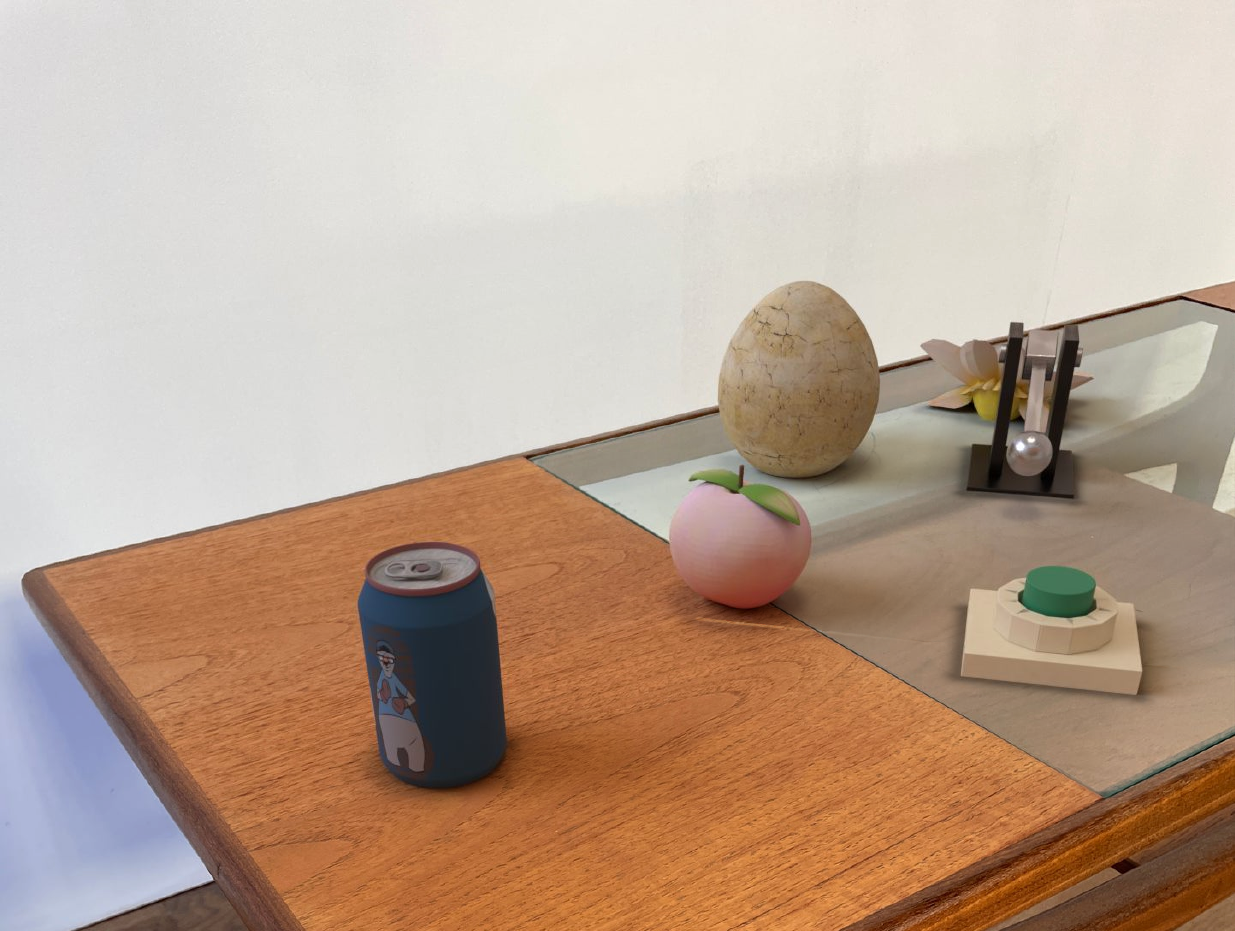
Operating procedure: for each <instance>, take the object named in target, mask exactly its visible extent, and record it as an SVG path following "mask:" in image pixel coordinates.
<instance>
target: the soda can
mask: <svg viewBox="0 0 1235 931" xmlns="http://www.w3.org/2000/svg"><path fill="white" fill-rule="evenodd" d="M364 577H365V579H364V582H363V585H362V587H361V590H360V592H359V595H358V598H357V610H358V611H357V612H358V618H359V623H360V630H361V637H362V644H363V652H364V657H365V664H366V665H365V666H366V671H367V677H368V678H367V679H368V684H369V692H370V698H371V705H372V711H373V720H374V725H375V726H374V727H375V731H376V738H377V746H378V752H379V758H380V760H381V761H382V762H381V763H383V765H384V766H385V767H386V769H387V770H388V772H390V773H391V774H392V775H393V777H395V778H396V779H397V780H399V781H401V782H403V783H405V784H407V785H411V786H414V787H418V788H422V789H423V788H424V789H451V788H457V787H461V786H465V785H468V784H471V783H473V782H474V783H475V782H476V781H479V780H481V779H483V778H484V777H486V776H488V775H489V774H490V773H491V772H492V771H494V770H495V769H496V768H497V767H498V765H499V764H500V761H501V760H502V758H503V756H504V754H505V751H506V749H507V744H508V738H507V729H506V714H505V703H504V692H503V690H504V689H503V678H502V667H501V656H500V654H501V653H500V644H499V630H498V620H497V608H496V596H495V595H496V594H495V589H494V587H493V585H492V584H491V581H490V580H489V579H488V577H487V575H486V574H485V573H484V571H483V570H482V568H481V560H480V558H479V556H478V554H476V552H474V551H473V550H471V549H470V548H467V547H465V546H463V545H459V544H456V543H452V542H446V541H421V542H412V543H405V544H401V545H398V546H394V547H390V548H388V549H385V550H383V551H381V552H380V553H379V552H378V553H376V555H374V556H373V557H371V558H370V560H369V561H368V562H367V563H366V565H365V567H364Z"/></svg>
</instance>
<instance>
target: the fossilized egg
mask: <svg viewBox="0 0 1235 931" xmlns="http://www.w3.org/2000/svg"><path fill="white" fill-rule="evenodd" d="M748 312H749V313H747V315H746V316H745V317H744V319H743V320H742V321H741V322H740V324H739V325H738V327H737V329H736V330H735V332H734V333H733V335H732V337H731V339H730V341H729V343H728V345H727V347H726V351H725V353H724V355H723V358H722V362H721V366H720V371H719V374H718V382H717V383H718V384H717V404H718V405H717V406H718V411H719V416H720V421H721V423H722V425H723V428H724V430H725V433H726V435H727V438H728V440H729V441H730V442H731V444H732V446H733V448H734V449H735V450H736V451H737V453H738V454H739V455H740V456H741V458H743V459H744V460H745V461H746V462H748V463H749V464H750V465H751V466H752V467H754V468H755V469H756V470H758V471H760V472H762V473H764V474H766V475H770V476H774V477H778V478H779V477H780V478H787V479H805V478H812V477H817V476H820V475H824V474H826V473H829V472H830V471H832V470H834V469H836V468H837V467H838V466H840V465H841V464H842V463H844V462H845V461H846V460H847V459H848V458H849V457H850V456H851V455H852V454H853V453H854V452H855V451H856V450H857V448H859V446H860V445H861V444H862V442H863V441H864V439H865V437H866V436H867V434H868V432H869V430H870V428H871V426H872V424H873V421H874V418H875V415H876V412H877V408H878V405H879V400H880V392H881V391H880V388H881V377H880V368H879V360H878V356H877V354H876V353H877V352H876V350H875V347H874V343H873V341H872V338H871V336H870V334H869V331H868V330H867V327H866V325H865V323H863V321H862V320H861V318H860V316H859V314H858V313H857V312H856V310H855V309H854V308H853V307H852V305H850V303H849V302H848V301H847V300H846V299H845V298H844V297H843V296H842V295H840V293H838V292H836V291H835V290H834V289H832V287H829V286H827V285H824V284H821V283H820V282H816V281H812V280H797V281H792V282H789V283H786V284H784V285H781V286H779V287H776V289H774V290H772V291H771V292H769V293H768V294H766V295H765V296H764V297H763V298H761V300H759V302H758V303H756V304H755V305H754V306H753V308H752V309H751V310H750V311H748Z"/></svg>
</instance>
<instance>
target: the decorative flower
mask: <svg viewBox="0 0 1235 931" xmlns="http://www.w3.org/2000/svg"><path fill="white" fill-rule="evenodd" d="M1004 344H1007V342H1006V343H1004ZM919 347H920V348H921V349H922V350H923V351H924V352H925V353H926V354H927V355H928V356H929V357H930V358H931V359H932V360H933V361H934V362H935V364H937V365H939V366H940V367H941V368H942V369H944V370H945V371H947V373H949V374H950V375H952V376H953V377H954V378H956V379H957V380H958V381H959V382H962V383H963V384H964V385H963V386H960V387H956V388H954V389H950V390H948V391H946V392H944V393H942V394H941V395H939V396H937V397H935V398H933V399H932V400H931V401H929V402H926V403H925V405H926V406H931V407H939V408H940V407H941V408H946V409H947V408H948V409H958V408H962V407H965V406H966V405H969V403H971V404H974V408H975V410H976V412H977V414H978V416H979V417H980V418H982V419H983V420H985V421H990V422H995V419H996V412H997V406H998V399H999V393H1000V386H1001V380H1002V373H1003V367H1004V363H998V359H999V352H1000V347H999V348H997V350H996V347H995V346H994V345H992V344H991V343H990V342H989V341H987V340H982V339H980V340H978V339H977V338H973V339H972V340H969V341H966V342H964V343H963V344H962V346H959V345H958V344H955V343H953V342H950V341H947V340H945V339H937V338H932V339H929V340H927V341H925V342H922V343H921V344H920V345H919ZM1024 354H1025V349H1024V348H1023V347H1022V349H1021V355H1020V361H1019V367H1018V374H1017V380H1016V386H1015V392H1014V399H1013V405H1012V411H1011V417H1010V422H1011V421H1014V420H1016V419H1018V418H1019V417H1022V419H1023V420H1024V421H1025V414H1026V406H1027V397H1028V388H1029V380H1022V370H1023V362H1024ZM1055 375H1056V371H1054V370H1053V375H1052V380H1051V381H1045V389H1044V398H1043V408H1042V417H1041V427H1040V432H1041V433H1045V432H1046V426H1047V420H1048V415H1049V409H1050V402H1048V400H1047V399H1051V398H1052V392H1053V387H1054V381H1055ZM1094 377H1095V375H1094V374H1090V373H1087V372H1085V371H1080V370H1074V373H1073V379H1072V384H1071V389H1070V391H1072V390H1075V389H1077V388H1078V387H1082V385H1085V384H1087V383H1089V382H1090V381H1093V380H1094V379H1095V378H1094Z"/></svg>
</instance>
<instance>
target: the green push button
mask: <svg viewBox="0 0 1235 931" xmlns="http://www.w3.org/2000/svg"><path fill="white" fill-rule="evenodd" d="M1025 578H1026V582H1025V587H1024V593H1023V598H1022V605H1023V606H1024V607H1025V608H1027V609H1028V610H1030V611H1033V612H1036V613H1039V614H1042V615H1045V616H1049V617H1059V618H1075V617H1081V616H1087V615H1088V614H1089V612H1090V611H1091V606H1092V602H1093V597H1094V593H1095V588H1096V586H1097V582H1096V579H1095V578H1094V577H1093V576H1092V575H1091V574H1089V573H1087V572H1085V571H1083V570H1080V569H1077V568H1074V567H1069V566H1061V565H1046V566H1045V565H1044V566H1040V567H1036V568H1034V569H1031V570H1030V571H1028V573H1027V574H1026V577H1025Z"/></svg>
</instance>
